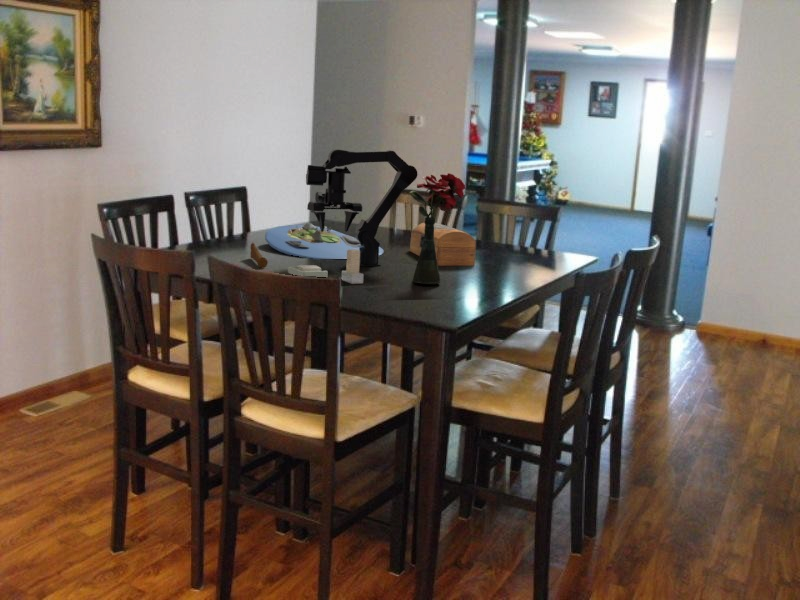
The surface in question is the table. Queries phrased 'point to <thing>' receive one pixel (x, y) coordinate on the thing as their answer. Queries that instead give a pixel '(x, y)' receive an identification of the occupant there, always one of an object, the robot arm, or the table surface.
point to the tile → (308, 268)
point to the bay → (307, 272)
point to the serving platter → (312, 242)
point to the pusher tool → (352, 268)
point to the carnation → (446, 201)
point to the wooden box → (446, 245)
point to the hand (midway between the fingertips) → (334, 231)
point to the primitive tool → (258, 257)
